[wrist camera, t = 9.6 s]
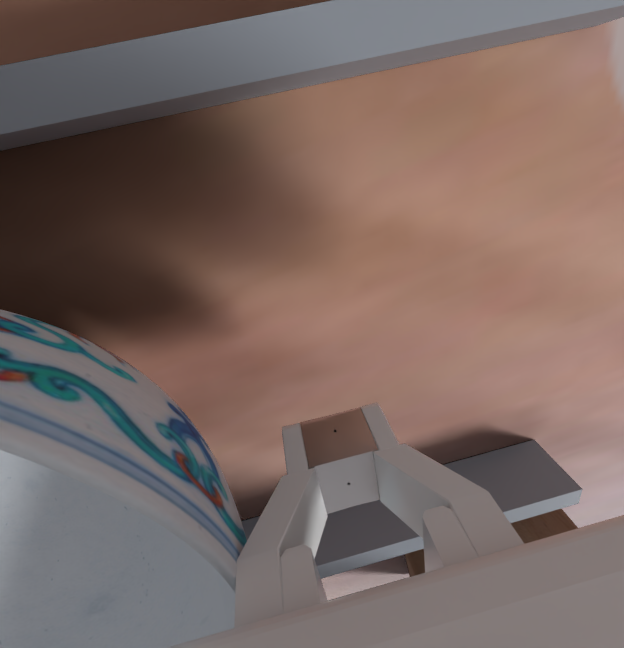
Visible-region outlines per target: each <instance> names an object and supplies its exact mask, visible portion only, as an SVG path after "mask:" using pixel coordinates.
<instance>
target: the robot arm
mask: <svg viewBox="0 0 624 648" xmlns="http://www.w3.org/2000/svg"><path fill="white" fill-rule="evenodd" d="M282 436H283V444H284V453H285V461H286V469H287V475H285V476H282V477H281V479H280V481H279V483H278V484H277V486H276V488H275V490H274V492H273V494H272V496H271V497H270V499H269V501H268V503H267V505H266V507H265V509H264V510H263V512H262V514H261V516H260V518H259V520H258V522H257V523H256V525H255V527H254V529H253V531H252V533H251V535H250V536H249V538H248V540H247V542H246V544H245V546H244V548H243V550H242V551H241V553H240V555H239V557H238V559H237V574H236V589H235V623H234V628H232V629H229V630H225V631H222V632H218V633H215V634H212V635H208V636H205V637H201V638H198V639H194V640H191V641H187V642H184V643H180V644H177V645H174V646H170V647H167V648H624V515H622V516H619V517H615V518H612V519H609V520H605V521H602V522H598V523H595V524H591V525H588V526H584V527H581V528H578V529H574V530H571V531H567V532H564V533H560V534H557V535H553V536H550V537H546V538H543V539H540V540H536V541H533V542H529V543H526V544H524V542H523V541H522V539H521V538H520V537H519V535H518V534H517V532H516V531H515V529H514V528H513V526H512V525H511V524H510V522H509V521H508V519H507V518H506V516H505V515H504V513H503V512H502V510H501V509H500V508H499V506H498V505H497V503H496V502H495V500H494V499H493V497H492V496H491V495H490V493H489V492H488V491H487V490H485V489H483V488H481V487H480V486H478V485H476V484H475V483H473V482H471V481H469V480H468V479H466V478H464V477H462V476H461V475H459V474H457V473H455V472H454V471H452V470H450V469H448V468H447V467H445V466H443V465H442V464H440V463H438V462H436V461H435V460H433V459H431V458H429V457H428V456H426V455H424V454H422V453H421V452H419V451H417V450H415V449H414V448H412V447H410V446H409V445H407V444H401V445H400V444H399V442H398V440H397V438H396V437H395V435H394V433H393V431H392V429H391V427H390V425H389V423H388V421H387V419H386V417H385V415H384V413H383V411H382V409H381V407H380V405H379V404H378V403H377V402H376V403H373V404H369V405H365V406H362V407H360V408H355V409H351V410H348V411H344V412H340V413H336V414H333V415H329V416H325V417H321V418H316V419H312V420H308V421H304V422H300V423H297V424H293V425H288V426H284V427H282ZM377 500H380V501H381V502H382V503H383V504H384V505H385V506H386V507H387V508H389V509H390V510H391V511H392V512H393V513H394V514H395V515H396V516H398V517H399V518H400V519H401V520H402V521H403V522H404V523H405V524H407V525H408V526H409V527H410V528H411V529H412V530H413V531H414V532H416V533H417V534H418V535H419V536H420V537H421V538H422V539H423V541H424V560H425V573H422V574H419V575H415V576H412V577H408V578H405V579H401V580H398V581H394V582H391V583H387V584H384V585H381V586H377V587H374V588H370V589H367V590H363V591H360V592H356V593H353V594H349V595H346V596H342V597H339V598H336V599H332V600H329V601H328V600H327V597H326V594H325V591H324V588H323V584H322V581H321V578H320V575H319V572H318V569H317V566H316V563H315V556H316V553H317V549H318V546H319V543H320V539H321V536H322V533H323V530H324V526H325V523H326V520H327V517H328V516H327V514H329V513H333V512H336V511H339V510H343V509H346V508H349V507H352V506H356V505H360V504H364V503H368V502H373V501H377Z"/></svg>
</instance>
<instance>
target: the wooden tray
mask: <svg viewBox="0 0 624 648" xmlns="http://www.w3.org/2000/svg"><path fill="white" fill-rule="evenodd" d="M621 17H624V0H332V1H327V2H322V3H317V4H312V5H307V6H301V7H296V8H291V9H286V10H281V11H276V12H271V13H266V14H261V15H256V16H251V17H246V18H240V19H235V20H230V21H225V22H220V23H215V24H210V25H205V26H200V27H195V28H190V29H184V30H179V31H174V32H169V33H164V34H159V35H154V36H149V37H144V38H139V39H134V40H128V41H123V42H118V43H113V44H108V45H103V46H98V47H93V48H88V49H83V50H78V51H73V52H67V53H62V54H57V55H52V56H47V57H42V58H37V59H32V60H27V61H22V62H17V63H11V64H6V65H1V66H0V151H2V150H7V149H12V148H16V147H21V146H26V145H31V144H35V143H40V142H45V141H50V140H54V139H59V138H64V137H69V136H73V135H78V134H83V133H88V132H93V131H97V130H102V129H107V128H112V127H116V126H121V125H126V124H131V123H135V122H140V121H145V120H150V119H154V118H159V117H164V116H169V115H173V114H178V113H183V112H188V111H193V110H197V109H202V108H207V107H212V106H216V105H221V104H226V103H231V102H235V101H240V100H245V99H250V98H254V97H259V96H264V95H269V94H273V93H278V92H283V91H288V90H293V89H297V88H302V87H307V86H312V85H316V84H321V83H326V82H331V81H335V80H340V79H345V78H350V77H354V76H359V75H364V74H369V73H373V72H378V71H383V70H388V69H393V68H397V67H402V66H407V65H412V64H416V63H421V62H426V61H431V60H435V59H440V58H445V57H450V56H454V55H459V54H464V53H469V52H474V51H478V50H483V49H488V48H493V47H497V46H502V45H507V44H512V43H516V42H521V41H526V40H531V39H535V38H540V37H545V36H550V35H554V34H559V33H564V32H569V31H574V30H578V29H583V28H588V27H593V26H597V25H600V24H603V23H606V22H609V21H612V20H615V19H618V18H621ZM443 466H445V467H447V468H448V469H450V470H452V471H454V472H455V473H457V474H459V475H461V476H462V477H464V478H466V479H468V480H469V481H471V482H473V483H475V484H476V485H478V486H480V487H481V488H483V489H485V490H487V491H488V492H489V493H490V495H491V496H492V497H493V499H494V500H495V502H496V503H497V505H498V506H499V508H500V509H501V510H502V512H503V513H504V515H505V516H506V518H507V519H508V521H509V522H510V523H513V522H517V521H520V520H523V519H527V518H530V517H534V516H537V515H540V514H544V513H547V512H551V511H554V510H558V509H561V508H564V507H568V506H571V505H575V504H578V503H579V500H580V496H581V492H582V488H581V487H580V486H579V485H578V484H577V483H576V482H575V481H574V480H573V479H572V478H571V477H570V476H569V475H568V474H567V473H566V472H565V471H564V470H563V469H562V468H561V467H560V466H559V465H558V464H557V463H556V462H555V461H554V460H553V459H552V458H551V457H550V456H549V454H548V453H547V452H546V451H545V450H544V449H543V448H542V447H541V446H540V445H539V444H538V443H537V442H536V441H535V440H531V441H527V442H524V443H520V444H516V445H513V446H509V447H506V448H502V449H499V450H495V451H491V452H488V453H484V454H481V455H477V456H473V457H470V458H466V459H463V460H459V461H456V462H452V463H448V464H445V465H443ZM327 516H328V517H327V520H326V523H325V526H324V530H323V533H322V536H321V539H320V543H319V546H318V549H317V553H316V556H315V563H316V566H317V569H318V572H319V575H320V578H321V579H322V578H325V577H328V576H332V575H335V574H339V573H342V572H345V571H349V570H352V569H356V568H359V567H363V566H366V565H369V564H373V563H376V562H380V561H383V560H387V559H390V558H393V557H397V556H400V555H404V554H407V553H410V552H414V551H417V550H421V549H424V541H423V539H422V538H421V537H420V536H419V535H418V534H417V533H416V532H414V531H413V530H412V529H411V528H410V527H409V526H408V525H407V524H405V523H404V522H403V521H402V520H401V519H400V518H399V517H398V516H396V515H395V514H394V513H393V512H392V511H391V510H390V509H389V508H387V507H386V506H385V505H384V504H383V503H382V502H381V501H380V500H377V501H373V502H368V503H364V504H360V505H356V506H352V507H349V508H346V509H343V510H339V511H336V512H333V513H329V514H327ZM259 518H260V516H258V517H255V518H251V519H248V520H244V521H241V522H242V526H243V529H244V533H245V536H246V540H248V538H249V536H250V535H251V533H252V531H253V529H254V527H255V525H256V523H257V522H258V520H259Z"/></svg>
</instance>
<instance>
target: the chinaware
mask: <svg viewBox="0 0 624 648" xmlns="http://www.w3.org/2000/svg"><path fill="white" fill-rule="evenodd" d="M246 542H247V540H246V536H245V533H244V529H243V526H242V522H241V519H240V516H239V513H238V510H237V507H236V504H235V501H234V499H233V496H232V494H231V491H230V489H229V486H228V484H227V481H226V479H225V477H224V475H223V473H222V471H221V469H220V467H219V465H218V463H217V461H216V459H215V457H214V455H213V453H212V452H211V450H210V448H209V446H208V445H207V443H206V442H205V440H204V438H203V437H202V435H201V434H200V432H199V431H198V430H197V428H196V427H195V426H194V424H193V423H192V422H191V420H190V419H189V418H188V417H187V415H186V414H185V413H184V412H183V411H182V410H181V408H180V407H179V406H178V405H177V404H176V403H175V402H174V401H173V400H172V399H171V398H170V397H169V396H168V395H167V394H166V393H165V392H164V391H163V390H162V389H161V388H160V387H158V386H157V385H156V384H155V383H154V382H153V381H151V380H150V379H149V378H148V377H146V376H145V375H144V374H143V373H141V372H140V371H139V370H137V369H136V368H134V367H133V366H132V365H130V364H129V363H127V362H126V361H124V360H122V359H121V358H119V357H118V356H116V355H114V354H113V353H111V352H109V351H107V350H106V349H104V348H102V347H100V346H98V345H96V344H94V343H92V342H90V341H88V340H86V339H84V338H82V337H80V336H78V335H75V334H73V333H71V332H68V331H66V330H63V329H61V328H58V327H56V326H53V325H50V324H47V323H45V322H42V321H39V320H36V319H33V318H29V317H26V316H23V315H20V314H16V313H12V312H9V311H5V310H1V309H0V648H167V647H170V646H174V645H177V644H180V643H184V642H187V641H191V640H194V639H198V638H201V637H205V636H208V635H212V634H215V633H218V632H222V631H225V630H229V629H232V628H234V623H235V589H236V574H237V559H238V557H239V555H240V553H241V551H242V550H243V548H244V546H245V544H246Z"/></svg>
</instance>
